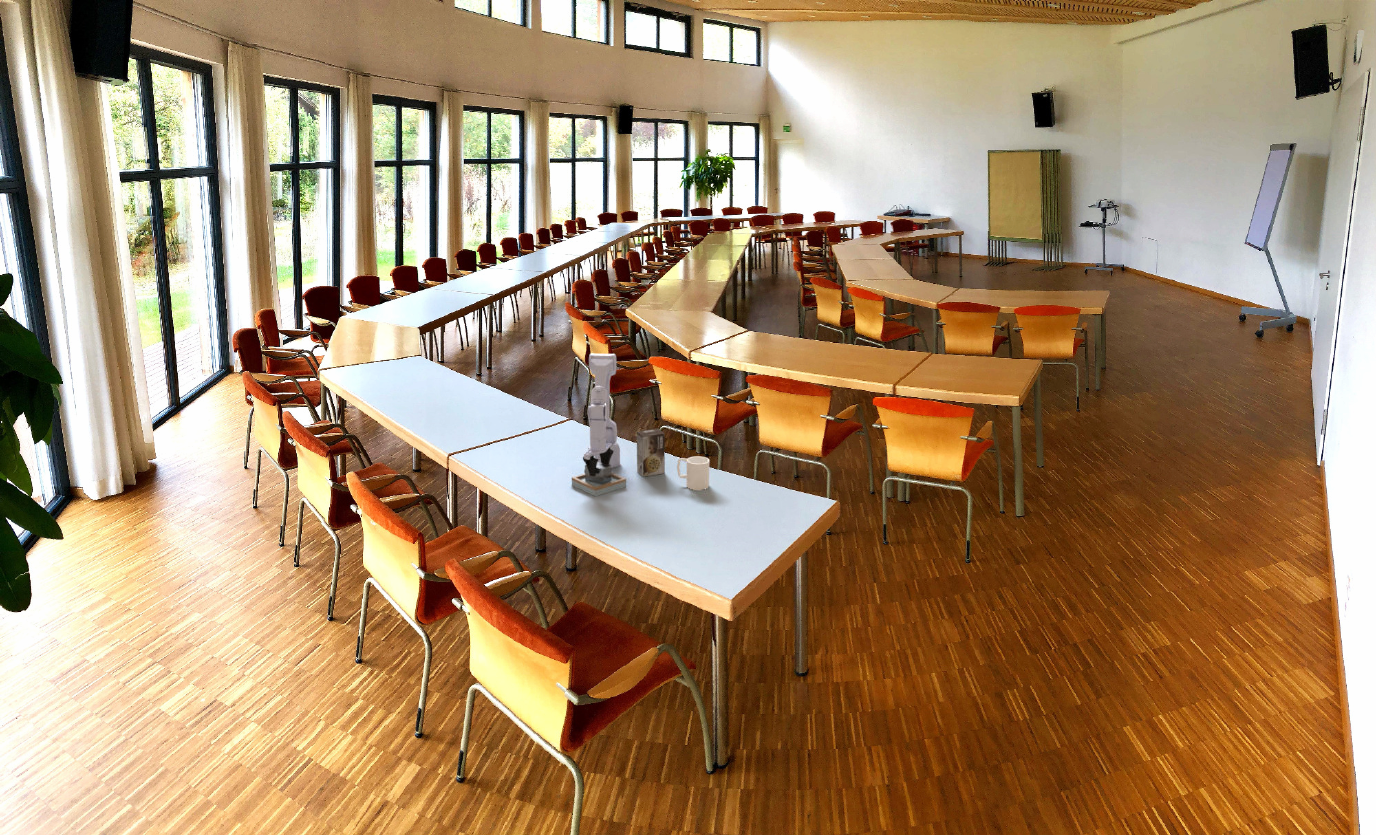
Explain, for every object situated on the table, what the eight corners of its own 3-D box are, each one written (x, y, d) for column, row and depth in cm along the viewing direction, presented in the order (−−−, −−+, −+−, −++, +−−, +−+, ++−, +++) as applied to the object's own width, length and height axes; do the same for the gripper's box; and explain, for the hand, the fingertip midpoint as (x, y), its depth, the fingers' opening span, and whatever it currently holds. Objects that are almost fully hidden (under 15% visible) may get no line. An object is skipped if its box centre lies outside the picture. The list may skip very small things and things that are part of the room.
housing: (611, 480, 319) (611, 465, 317) (603, 484, 315) (603, 469, 313) (591, 475, 323) (590, 460, 321) (583, 479, 319) (582, 464, 317)
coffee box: (658, 468, 337) (658, 428, 333) (665, 473, 332) (665, 433, 327) (636, 471, 334) (636, 431, 329) (642, 477, 328) (642, 436, 323)
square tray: (602, 476, 329) (602, 468, 328) (626, 486, 319) (626, 478, 318) (571, 485, 320) (571, 477, 319) (595, 496, 310) (595, 488, 309)
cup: (680, 479, 326) (680, 454, 323) (711, 483, 323) (712, 457, 320) (673, 487, 319) (673, 461, 316) (705, 491, 315) (706, 465, 312)
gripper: (600, 429, 322) (601, 464, 326) (576, 440, 309) (577, 476, 314) (616, 432, 318) (617, 467, 322) (593, 443, 306) (593, 480, 310)
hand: (598, 472), depth 318 cm, fingers open, 7 cm apart
